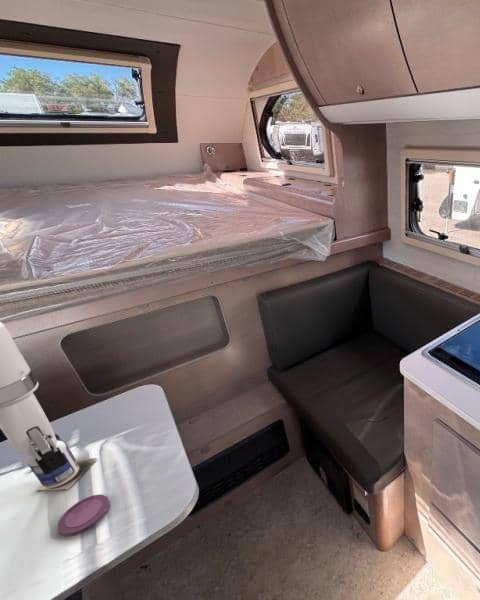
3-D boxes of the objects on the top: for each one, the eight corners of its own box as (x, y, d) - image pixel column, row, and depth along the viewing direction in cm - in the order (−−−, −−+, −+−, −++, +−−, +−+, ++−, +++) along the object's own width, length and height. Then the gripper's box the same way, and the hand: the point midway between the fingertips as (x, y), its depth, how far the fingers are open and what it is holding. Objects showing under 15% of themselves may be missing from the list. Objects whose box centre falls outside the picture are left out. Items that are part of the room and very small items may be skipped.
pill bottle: (51, 470, 67) (28, 436, 63) (84, 461, 69) (64, 427, 65) (37, 493, 62) (11, 458, 58) (72, 483, 64) (50, 448, 60)
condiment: (36, 490, 76) (10, 454, 70) (68, 459, 83) (47, 424, 78) (68, 489, 76) (45, 454, 71) (98, 458, 83) (79, 424, 78)
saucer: (66, 544, 65) (65, 542, 65) (52, 521, 69) (50, 519, 69) (116, 509, 72) (115, 506, 72) (101, 490, 76) (99, 487, 75)
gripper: (-41, 382, 57) (10, 455, 65) (-17, 422, 49) (38, 499, 57) (20, 361, 63) (61, 430, 70) (50, 393, 55) (92, 467, 62)
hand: (50, 460), depth 63 cm, fingers closed on pill bottle, 5 cm apart
